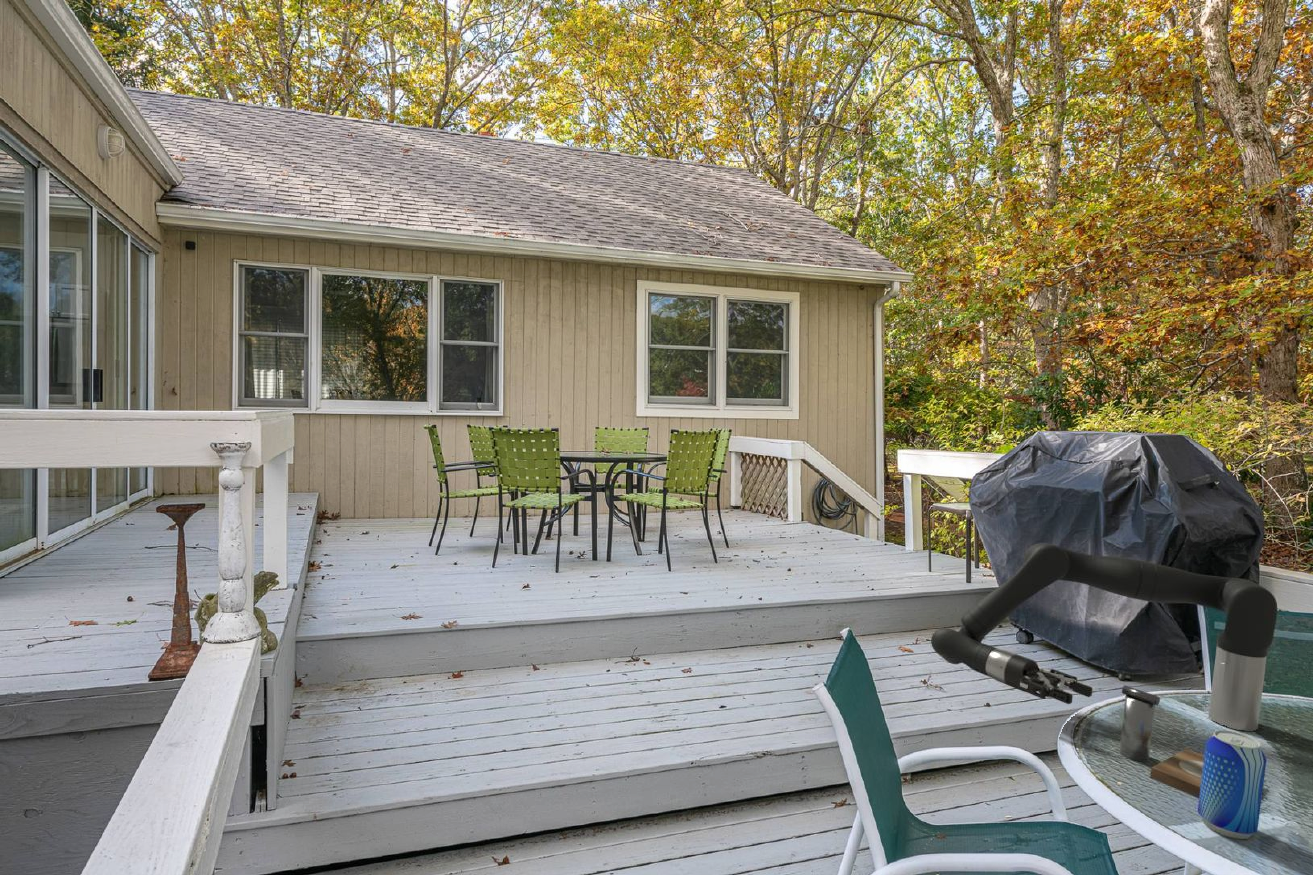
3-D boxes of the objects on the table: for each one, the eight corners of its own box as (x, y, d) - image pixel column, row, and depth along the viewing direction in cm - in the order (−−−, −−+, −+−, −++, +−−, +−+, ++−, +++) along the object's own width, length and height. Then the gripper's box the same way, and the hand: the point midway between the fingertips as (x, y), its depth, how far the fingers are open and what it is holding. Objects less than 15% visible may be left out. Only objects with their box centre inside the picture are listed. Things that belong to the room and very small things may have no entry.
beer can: (1185, 813, 138) (1195, 726, 136) (1228, 813, 138) (1239, 727, 137) (1223, 841, 129) (1234, 750, 128) (1269, 841, 130) (1281, 750, 129)
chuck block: (1185, 757, 159) (1186, 747, 159) (1254, 784, 150) (1256, 774, 149) (1150, 777, 150) (1151, 766, 150) (1222, 807, 140) (1223, 795, 140)
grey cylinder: (1123, 746, 163) (1130, 683, 162) (1156, 759, 158) (1164, 694, 157) (1111, 751, 160) (1118, 687, 159) (1144, 765, 155) (1152, 699, 154)
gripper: (996, 658, 177) (1066, 685, 164) (1030, 649, 185) (1099, 674, 172) (992, 690, 177) (1062, 719, 164) (1026, 679, 186) (1095, 706, 172)
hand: (1081, 696), depth 168 cm, fingers open, 8 cm apart
